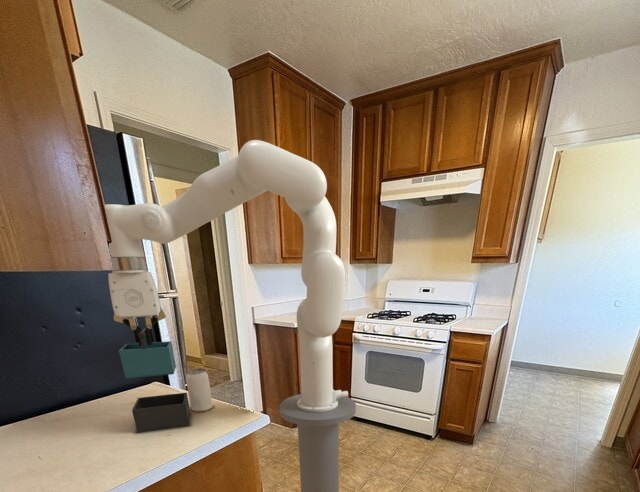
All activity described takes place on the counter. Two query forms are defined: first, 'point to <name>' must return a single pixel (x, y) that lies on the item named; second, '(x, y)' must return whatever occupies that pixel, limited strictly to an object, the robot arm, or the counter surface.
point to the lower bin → (161, 412)
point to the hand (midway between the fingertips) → (146, 344)
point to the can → (199, 390)
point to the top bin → (147, 358)
